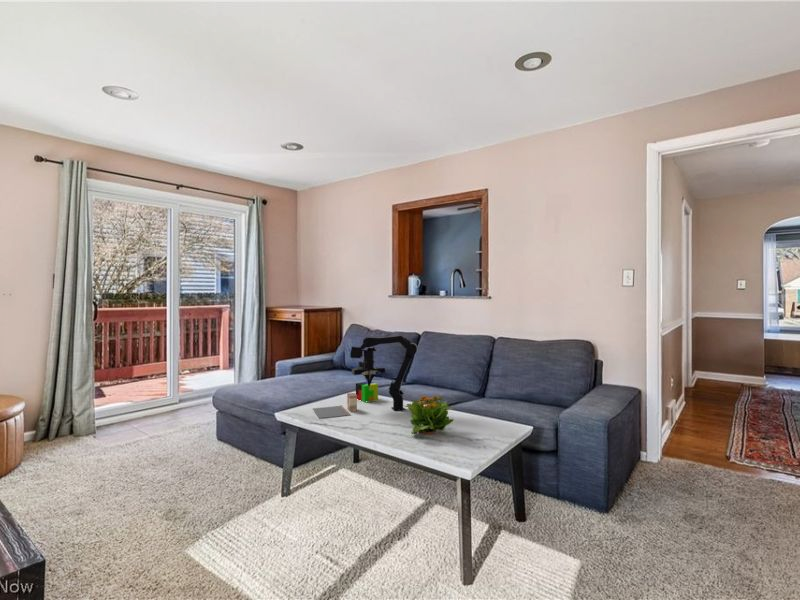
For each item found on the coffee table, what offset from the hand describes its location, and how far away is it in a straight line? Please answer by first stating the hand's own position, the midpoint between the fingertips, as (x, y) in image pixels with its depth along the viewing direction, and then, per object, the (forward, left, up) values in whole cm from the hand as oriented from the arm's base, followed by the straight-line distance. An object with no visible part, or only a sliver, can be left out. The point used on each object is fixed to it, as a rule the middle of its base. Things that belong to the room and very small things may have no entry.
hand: (368, 385), depth 241 cm
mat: (0, +22, -13) cm, 26 cm away
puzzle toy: (+20, -5, -13) cm, 25 cm away
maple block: (0, +10, -13) cm, 16 cm away
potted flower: (-49, -14, -13) cm, 53 cm away
